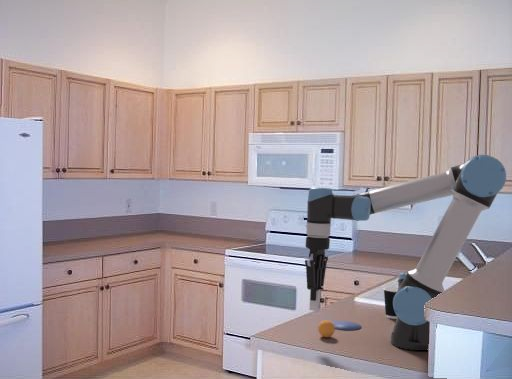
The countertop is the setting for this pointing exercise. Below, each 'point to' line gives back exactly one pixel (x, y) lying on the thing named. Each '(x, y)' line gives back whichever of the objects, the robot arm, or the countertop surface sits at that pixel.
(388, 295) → the dixie cup
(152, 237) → the countertop surface
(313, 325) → the countertop surface
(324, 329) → the ball
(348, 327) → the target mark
